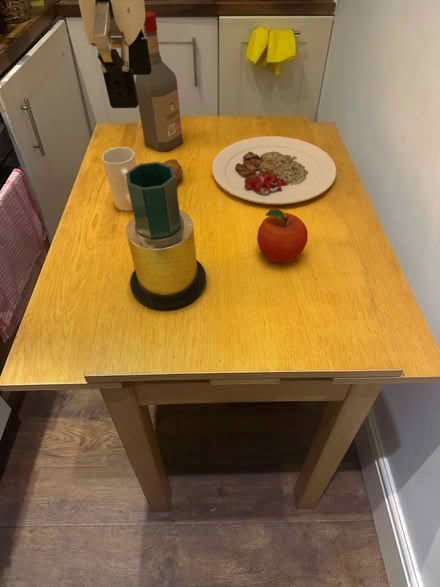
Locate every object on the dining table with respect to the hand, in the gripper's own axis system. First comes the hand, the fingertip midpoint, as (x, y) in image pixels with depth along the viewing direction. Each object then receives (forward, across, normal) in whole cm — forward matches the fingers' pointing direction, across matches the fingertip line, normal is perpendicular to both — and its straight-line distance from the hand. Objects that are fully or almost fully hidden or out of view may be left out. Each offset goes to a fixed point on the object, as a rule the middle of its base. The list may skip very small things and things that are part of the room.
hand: (132, 89), depth 50 cm
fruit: (+35, -8, +21) cm, 42 cm away
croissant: (+35, -34, -4) cm, 49 cm away
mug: (+35, -23, -12) cm, 44 cm away
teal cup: (+21, 0, 0) cm, 21 cm away
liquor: (+35, -53, -8) cm, 64 cm away
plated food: (+36, -38, +21) cm, 56 cm away
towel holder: (+35, 0, 0) cm, 35 cm away
